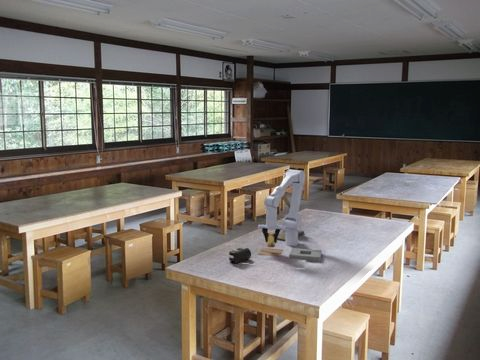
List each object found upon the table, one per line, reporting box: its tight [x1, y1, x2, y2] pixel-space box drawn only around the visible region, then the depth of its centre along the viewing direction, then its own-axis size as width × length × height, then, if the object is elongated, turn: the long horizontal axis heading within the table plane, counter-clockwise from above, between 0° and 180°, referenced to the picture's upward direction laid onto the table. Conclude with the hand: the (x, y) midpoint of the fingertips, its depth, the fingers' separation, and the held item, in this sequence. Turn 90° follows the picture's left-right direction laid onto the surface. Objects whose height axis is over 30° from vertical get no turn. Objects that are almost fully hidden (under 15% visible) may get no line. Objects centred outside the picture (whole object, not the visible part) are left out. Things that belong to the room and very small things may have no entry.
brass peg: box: [266, 232, 276, 248], centre depth 255 cm, size 4×4×7 cm
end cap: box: [228, 247, 252, 265], centre depth 241 cm, size 10×7×7 cm
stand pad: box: [257, 247, 284, 257], centre depth 256 cm, size 12×12×1 cm
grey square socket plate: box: [288, 247, 322, 263], centre depth 251 cm, size 12×16×2 cm
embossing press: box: [277, 193, 305, 242], centre depth 287 cm, size 11×24×30 cm, turn 144°
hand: (271, 242), depth 255 cm, fingers closed on brass peg, 4 cm apart
